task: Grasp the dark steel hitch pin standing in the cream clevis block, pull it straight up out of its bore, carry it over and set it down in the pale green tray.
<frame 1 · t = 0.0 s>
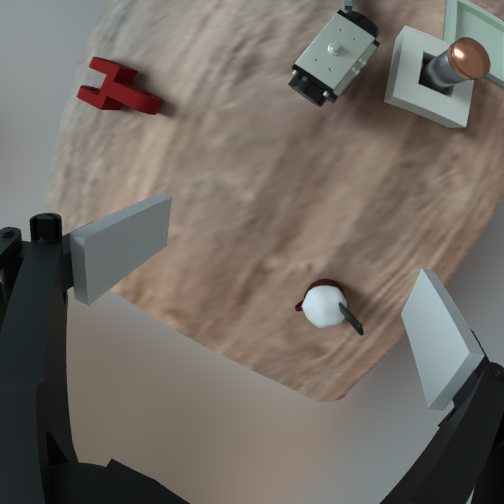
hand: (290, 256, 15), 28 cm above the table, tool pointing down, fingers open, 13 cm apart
pneumatic valve: (335, 73, 34), on the table
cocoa: (326, 291, 46), on the table
mechanical linkage: (129, 90, 41), on the table
tray: (478, 42, 26), on the table
hitch pin: (425, 80, 30), point 1 cm above the table, touching clevis block
clevis block: (423, 82, 31), on the table
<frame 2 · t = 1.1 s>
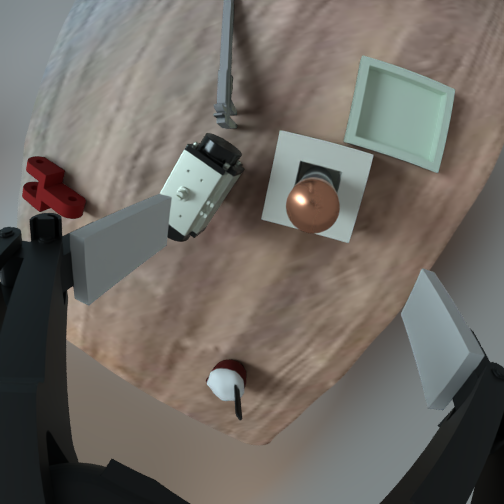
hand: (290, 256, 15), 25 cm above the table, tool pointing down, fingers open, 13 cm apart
caliper: (232, 56, 33), on the table
pneumatic valve: (222, 180, 40), on the table
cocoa: (234, 367, 51), on the table
mechanical linkage: (62, 188, 47), on the table
tray: (398, 114, 31), on the table
hitch pin: (317, 180, 36), point 1 cm above the table, touching clevis block
clevis block: (317, 179, 36), on the table
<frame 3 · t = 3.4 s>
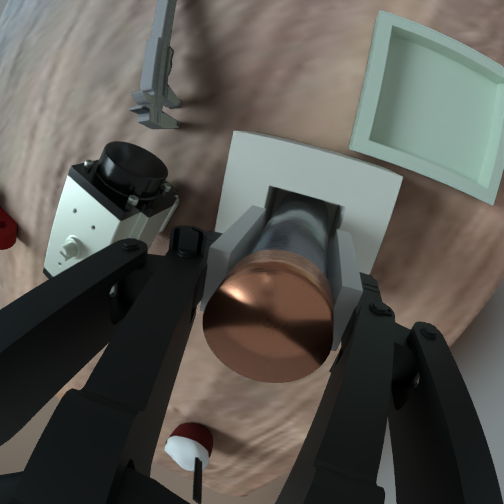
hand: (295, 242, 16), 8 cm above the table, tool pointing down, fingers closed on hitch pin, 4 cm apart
caliper: (178, 21, 20), on the table
pneumatic valve: (163, 207, 26), on the table
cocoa: (199, 429, 38), on the table
tray: (436, 107, 18), on the table
hitch pin: (303, 212, 22), point 1 cm above the table, touching clevis block, gripper
clevis block: (304, 209, 23), on the table
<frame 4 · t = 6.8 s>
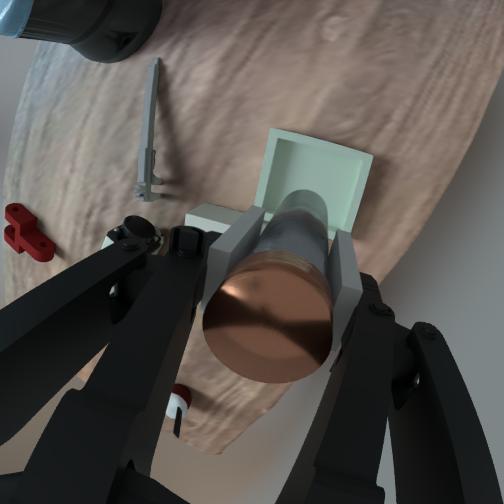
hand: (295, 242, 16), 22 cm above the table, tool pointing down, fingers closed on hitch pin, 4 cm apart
caliper: (157, 126, 38), on the table
pneumatic valve: (155, 242, 45), on the table
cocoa: (182, 390, 56), on the table
mechanical linkage: (36, 231, 52), on the table
tray: (311, 183, 36), on the table
hitch pin: (303, 213, 22), point 15 cm above the table, touching gripper
clevis block: (233, 246, 42), on the table
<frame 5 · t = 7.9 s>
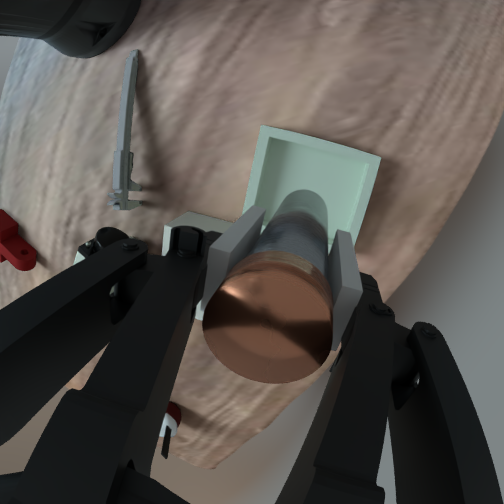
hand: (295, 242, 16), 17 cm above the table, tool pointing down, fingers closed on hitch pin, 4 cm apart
caliper: (136, 125, 34), on the table
pneumatic valve: (137, 253, 40), on the table
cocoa: (172, 406, 52), on the table
mechanical linkage: (19, 238, 47), on the table
tray: (309, 188, 31), on the table
hitch pin: (303, 213, 22), point 10 cm above the table, touching gripper
clevis block: (220, 259, 37), on the table
when the fingers open (8 cm above the table, at t = 10.0 s): hitch pin stays where it is, resting on tray.
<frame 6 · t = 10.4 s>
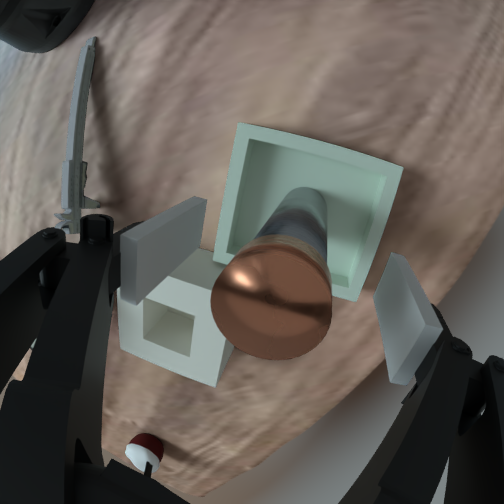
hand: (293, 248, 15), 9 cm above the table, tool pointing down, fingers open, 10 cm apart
caliper: (93, 127, 26), on the table
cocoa: (154, 439, 44), on the table
tray: (305, 208, 24), on the table
hitch pin: (304, 209, 23), point 1 cm above the table, touching tray
clevis block: (194, 294, 29), on the table
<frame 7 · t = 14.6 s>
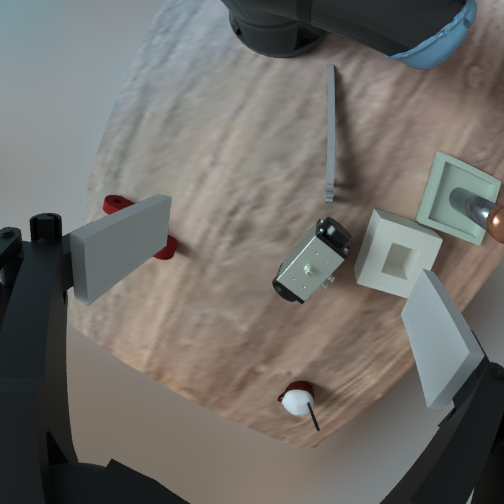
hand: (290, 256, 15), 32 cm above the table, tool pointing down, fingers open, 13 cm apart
caliper: (330, 130, 41), on the table
pneumatic valve: (316, 242, 47), on the table
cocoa: (301, 386, 59), on the table
mechanical linkage: (144, 227, 54), on the table
tray: (457, 198, 39), on the table
hitch pin: (458, 198, 38), point 1 cm above the table, touching tray
clevis block: (392, 247, 44), on the table
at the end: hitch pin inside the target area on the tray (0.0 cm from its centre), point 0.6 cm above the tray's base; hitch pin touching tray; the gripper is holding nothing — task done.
